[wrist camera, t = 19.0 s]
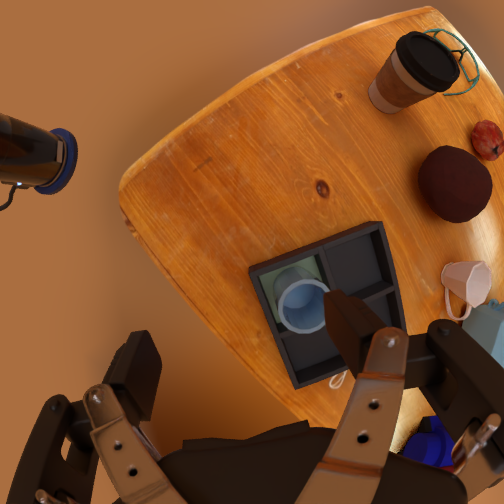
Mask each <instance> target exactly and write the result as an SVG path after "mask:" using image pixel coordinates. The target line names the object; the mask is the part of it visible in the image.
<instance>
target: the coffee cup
mask: <svg viewBox="0 0 504 504" xmlns="http://www.w3.org/2000/svg"><path fill="white" fill-rule="evenodd" d="M459 74H460V70H459V67H458V64H457V62H456V60H455V58H454V56H453V55H452V54H451V52H450V51H449V50H448V49H447V48H446V47H445V46H444V45H443V44H441V43H440V42H439V41H437V40H436V39H434V38H432V37H431V36H429V35H427V34H424V33H421V32H417V31H413V32H409V33H408V34H406V35H403V36H402V37H400V39H399V40H398V41H397V43H396V48H395V49H394V50H393V51H392V53H391V54H390V56H389V57H388V59H387V60H386V62H385V64H384V65H383V67H382V68H381V70H380V71H379V73H378V75H377V76H376V78H375V79H374V81H373V82H372V84H371V85H370V87H369V90H368V93H369V97H370V100H371V102H372V103H373V104H374V106H375V107H376V108H378V109H379V110H380V111H382V112H384V113H388V114H393V113H396V112H398V111H400V110H402V109H404V108H406V107H408V106H411V105H413V104H415V103H417V102H419V101H421V100H424V99H426V98H428V97H430V96H432V95H434V94H436V93H437V92H444V91H446V90H447V89H449V88H450V87H451V86H452V84H453V83H454V82H455V81H456V80H457V79H458V77H459Z"/></svg>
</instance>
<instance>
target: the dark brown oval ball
mask: <svg viewBox="0 0 504 504" xmlns="http://www.w3.org/2000/svg"><path fill="white" fill-rule="evenodd" d="M418 183H419V188H420V191H421V193H422V195H423V197H424V199H425V201H426V202H427V204H428V205H429V206H430V208H431V209H432V210H433V211H434V212H435V213H436V214H437V215H438V216H439V217H441V218H442V219H444V220H446V221H449V222H452V223H461V222H467V221H469V220H471V219H472V218H474V217H475V216H477V215H478V214H479V213H480V212H481V211H482V210H483V209H484V208H485V207H486V205H487V203H488V201H489V199H490V197H491V193H492V186H493V184H492V179H491V175H490V173H489V171H488V169H487V168H486V167H485V166H484V165H483V164H482V163H481V162H480V161H479V160H478V159H477V158H476V157H475V156H473V155H472V154H470V153H468V152H467V151H465V150H463V149H459V148H456V147H452V146H448V145H446V146H440V147H438V148H437V149H435V150H434V151H432V152H431V153H430V154H429V155H428V156H427V158H426V159H425V160H424V162H423V163H422V165H421V168H420V170H419V173H418Z"/></svg>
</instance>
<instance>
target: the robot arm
mask: <svg viewBox="0 0 504 504" xmlns="http://www.w3.org/2000/svg"><path fill="white" fill-rule="evenodd" d="M67 160H68V145H67V142H66V140H65V139H64V138H63V137H62V136H60V135H58V134H53V133H51V132H49V131H46V130H44V129H41V128H39V127H36V126H34V125H31V124H28V123H25V122H23V121H21V120H18V119H15V118H13V117H10V116H7V115H4V114H2V113H0V181H1V183H2V184H9V185H13V186H12V189H11V191H10V193H9V199H8V201H7V202H6V203H5V204H4V205H2V206H0V211H2V210H4V209H6V208H7V207H8V206H9V205H10V204H11V202H12V200H13V194H14V192H15V190H16V188H19V189H28V188H29V187H39V186H41V187H49V186H51V185H53V184H54V183H55V182H56V181H57V180H58V179H59V178H60V177H61V175H62V173H63V171H64V169H65V167H66V164H67ZM323 302H324V315H325V325H326V329H327V332H328V335H329V336H330V338H331V340H332V341H333V343H334V344H335V346H336V348H337V349H338V351H339V353H340V354H341V356H342V358H343V359H344V361H345V363H346V364H347V366H348V368H349V369H350V371H351V373H352V374H353V376H354V378H355V380H356V382H355V384H354V387H353V390H352V392H351V395H350V398H349V400H348V403H347V405H346V408H345V410H344V413H343V415H342V418H341V420H340V422H339V425H338V427H337V429H332V428H325V427H310V426H309V423H308V420H304V421H300V422H296V423H292V424H288V425H284V426H279V427H276V428H273V429H271V430H269V431H266V432H264V433H261V434H259V435H256V436H254V437H251V438H249V439H245V440H235V439H222V438H203V439H192V440H183V447H182V449H179V450H177V451H174V452H172V453H170V454H168V455H166V456H164V457H163V458H162V457H161V456H160V455H159V453H158V452H157V450H156V449H155V448H154V446H153V445H152V444H151V442H150V441H149V439H148V438H147V437H146V435H145V434H144V432H143V431H142V429H141V428H140V427H139V424H140V421H150V419H151V414H152V409H153V405H154V400H155V396H156V392H157V387H158V383H159V379H160V374H161V370H162V361H161V357H160V355H159V353H158V351H157V348H156V347H155V344H154V342H153V340H152V338H151V335H150V333H149V332H148V331H147V330H142V331H135V332H131V333H130V336H129V338H128V340H127V342H126V343H124V344H123V345H122V346H121V347H120V348H119V349H118V350H117V351H116V353H115V356H114V359H113V360H112V362H111V365H110V366H109V368H108V371H107V373H106V375H105V377H104V379H103V381H102V383H101V384H97V385H95V386H93V387H91V388H90V389H88V390H87V391H86V393H85V394H84V396H83V400H80V401H76V402H72V403H70V402H69V400H68V399H67V398H66V397H65V396H64V395H61V394H58V395H55V396H52V397H51V398H49V399H48V400H47V401H46V402H45V404H44V406H43V408H42V410H41V412H40V414H39V417H38V419H37V421H36V423H35V425H34V427H33V429H32V432H31V434H30V436H29V439H28V441H27V443H26V446H25V448H24V451H23V453H22V456H21V459H20V461H19V464H18V467H17V470H16V472H15V475H14V478H13V481H12V485H11V488H10V491H9V494H8V498H7V502H6V504H90V502H91V497H92V491H93V485H94V479H95V475H96V469H97V465H98V460H99V457H100V459H101V461H102V464H103V465H104V468H105V470H106V472H107V474H108V476H109V478H110V479H111V482H112V483H113V485H114V487H115V489H116V491H117V492H118V494H119V496H120V497H119V498H118V499H117V500H116V501H115V502H114V503H112V504H468V501H470V500H471V499H473V498H474V497H476V496H477V495H478V494H480V493H481V492H482V491H484V490H485V489H486V488H490V487H493V486H495V485H497V484H498V483H499V482H500V481H502V480H503V479H504V368H503V367H502V366H501V365H500V364H499V363H498V362H497V361H496V360H495V359H494V358H493V357H492V356H491V355H490V354H489V353H488V352H487V351H486V350H485V349H484V348H483V347H482V346H481V345H480V344H478V343H477V342H476V341H475V340H474V339H473V338H472V337H471V336H470V335H469V334H468V333H467V332H466V331H465V330H463V329H462V328H461V327H460V326H459V325H458V324H457V323H455V322H454V321H452V320H448V319H438V320H435V321H433V322H431V323H430V324H429V326H428V330H427V333H424V334H418V335H411V336H408V334H407V333H406V332H405V331H404V330H402V329H400V328H396V327H388V326H387V325H386V324H385V323H384V322H383V321H382V320H381V319H380V318H379V317H378V316H377V315H376V314H375V313H374V312H373V311H372V310H371V309H370V307H368V305H367V304H366V303H365V302H364V301H363V300H361V299H359V298H356V297H354V296H352V297H347V296H346V295H345V293H344V292H343V291H342V290H341V289H337V290H333V291H329V292H325V293H324V294H323ZM416 387H418V388H419V389H420V391H421V392H422V393H423V395H424V396H425V398H426V399H427V401H428V402H429V404H430V405H431V407H432V408H433V410H434V412H435V413H436V415H437V416H438V418H439V419H440V421H441V422H442V424H443V426H444V427H445V429H446V430H447V432H448V434H449V435H450V437H451V438H452V440H453V442H454V443H455V445H454V447H453V449H452V453H451V459H452V463H453V466H454V472H453V473H452V472H450V471H447V470H444V469H441V468H437V467H434V466H431V465H427V464H424V463H421V462H418V461H415V460H412V459H410V458H407V457H404V456H401V455H398V454H396V453H393V452H391V451H389V449H390V446H391V442H392V438H393V435H394V431H395V427H396V423H397V419H398V414H399V410H400V405H401V400H402V395H403V390H404V389H410V388H416ZM65 437H66V438H67V439H68V440H69V441H70V442H71V445H70V448H69V451H68V455H67V458H66V461H65V460H64V459H63V457H62V455H61V447H62V445H63V442H64V439H65Z"/></svg>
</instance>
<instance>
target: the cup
mask: <svg viewBox="0 0 504 504" xmlns="http://www.w3.org/2000/svg"><path fill="white" fill-rule="evenodd" d="M441 283H442V284H443V285H444V286H445V302H446V309H447V312H448V315H449V316H450V317H451V318H452V319H454V320H464V319H466V318H467V317H468V316H469V314H470V311H471V308H472V307H473V308H475V307H477V306H478V305H480V304H482V303H483V302H485V299H486V297H487V295H488V293H489V290H490V288H491V269H490V268H489V266H488V265H487V264H486V263H485V262H484V261H463V262H457V263H453V262H451V263H449V264H446V265H445V266H444V268H443V270H442V272H441ZM449 289H450V290H451V291H452V292H453V293H454V294H455V295H457V296H458V297H459V298H461V299H462V300H464V301H465V302H467V308H466V313H465V315H464V316H463V317H461V318H457V317H454V315H453V314H452V312H451V308H450V303H449Z"/></svg>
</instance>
